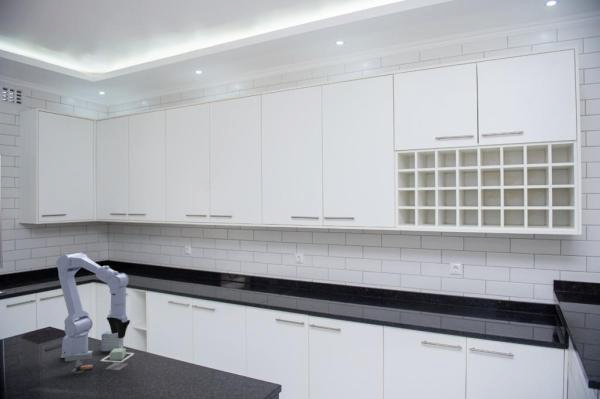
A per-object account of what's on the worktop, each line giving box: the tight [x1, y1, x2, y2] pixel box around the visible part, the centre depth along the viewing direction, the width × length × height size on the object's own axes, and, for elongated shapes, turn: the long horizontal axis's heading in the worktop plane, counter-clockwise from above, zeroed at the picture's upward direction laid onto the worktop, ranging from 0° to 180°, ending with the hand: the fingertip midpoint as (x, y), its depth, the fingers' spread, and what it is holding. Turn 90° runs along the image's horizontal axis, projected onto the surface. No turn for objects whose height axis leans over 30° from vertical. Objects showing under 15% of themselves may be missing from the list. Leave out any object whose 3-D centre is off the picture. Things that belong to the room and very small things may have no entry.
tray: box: [99, 352, 136, 363], centre depth 162 cm, size 10×10×2 cm
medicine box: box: [101, 330, 124, 352], centre depth 171 cm, size 8×4×9 cm, turn 92°
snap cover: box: [108, 347, 127, 361], centre depth 162 cm, size 5×5×4 cm
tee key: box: [64, 351, 93, 371], centre depth 150 cm, size 9×2×6 cm, turn 109°
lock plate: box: [71, 362, 128, 374], centre depth 151 cm, size 22×12×1 cm, turn 81°
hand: (118, 335), depth 162 cm, fingers open, 7 cm apart
